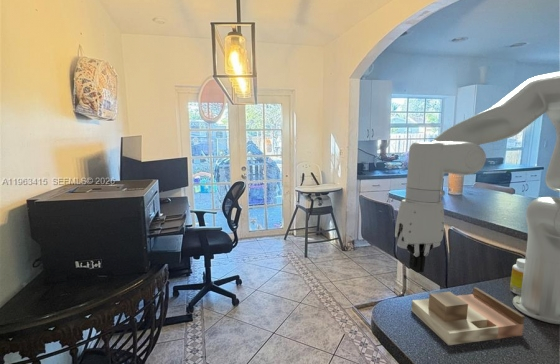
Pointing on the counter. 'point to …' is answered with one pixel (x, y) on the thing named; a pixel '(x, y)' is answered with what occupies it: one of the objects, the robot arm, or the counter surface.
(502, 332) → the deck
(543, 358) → the counter surface
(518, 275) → the supplement bottle
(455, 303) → the block
